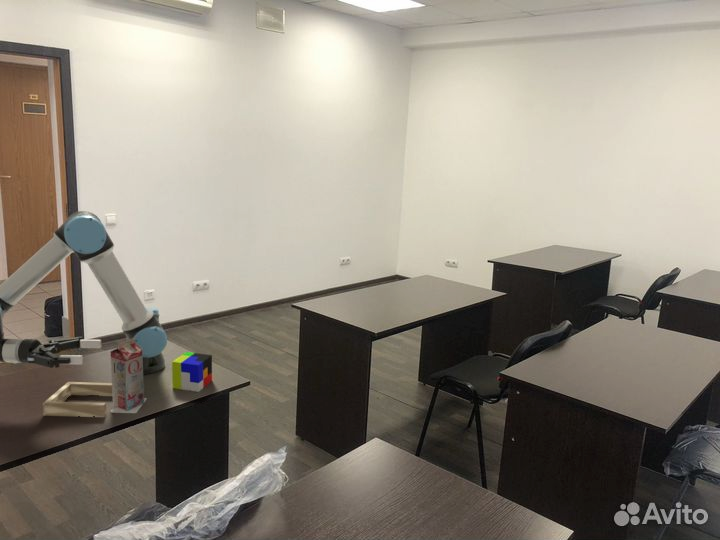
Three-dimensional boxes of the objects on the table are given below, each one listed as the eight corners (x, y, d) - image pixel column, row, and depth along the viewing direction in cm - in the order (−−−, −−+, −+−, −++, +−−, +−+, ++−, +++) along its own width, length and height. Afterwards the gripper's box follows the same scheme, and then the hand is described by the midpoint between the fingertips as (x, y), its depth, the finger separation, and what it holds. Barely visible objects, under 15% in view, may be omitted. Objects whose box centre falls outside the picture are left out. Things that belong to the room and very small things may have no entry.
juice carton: (144, 403, 177) (142, 340, 173) (127, 411, 172) (124, 346, 167) (130, 398, 180) (127, 335, 176) (112, 405, 175) (109, 341, 170)
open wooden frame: (68, 392, 183) (67, 381, 182) (124, 394, 184) (123, 383, 183) (43, 415, 167) (42, 403, 166) (104, 417, 168) (103, 405, 167)
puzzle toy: (198, 392, 189) (198, 365, 187) (172, 388, 191) (172, 361, 189) (212, 380, 199) (211, 355, 196) (187, 377, 200) (186, 351, 198)
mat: (122, 398, 181) (122, 397, 181) (146, 399, 181) (146, 398, 181) (110, 412, 171) (110, 411, 171) (135, 413, 172) (135, 412, 171)
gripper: (44, 347, 183) (108, 348, 184) (0, 378, 159) (74, 379, 160) (42, 326, 182) (107, 327, 183) (-3, 354, 157) (72, 355, 158)
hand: (92, 351), depth 171 cm, fingers open, 13 cm apart
